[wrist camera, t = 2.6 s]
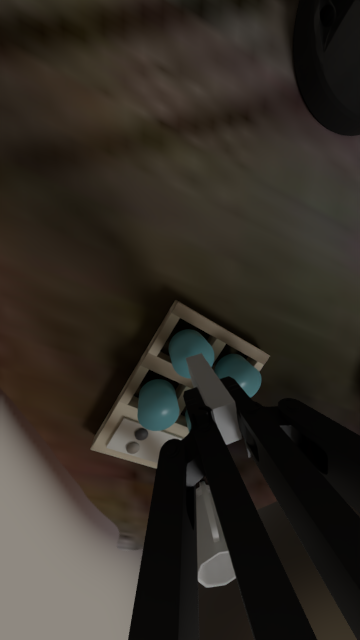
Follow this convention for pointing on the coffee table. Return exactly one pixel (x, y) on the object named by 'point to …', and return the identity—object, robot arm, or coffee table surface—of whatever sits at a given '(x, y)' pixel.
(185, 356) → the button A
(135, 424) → the board
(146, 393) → the button
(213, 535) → the cup
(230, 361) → the button
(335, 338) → the coffee table surface
